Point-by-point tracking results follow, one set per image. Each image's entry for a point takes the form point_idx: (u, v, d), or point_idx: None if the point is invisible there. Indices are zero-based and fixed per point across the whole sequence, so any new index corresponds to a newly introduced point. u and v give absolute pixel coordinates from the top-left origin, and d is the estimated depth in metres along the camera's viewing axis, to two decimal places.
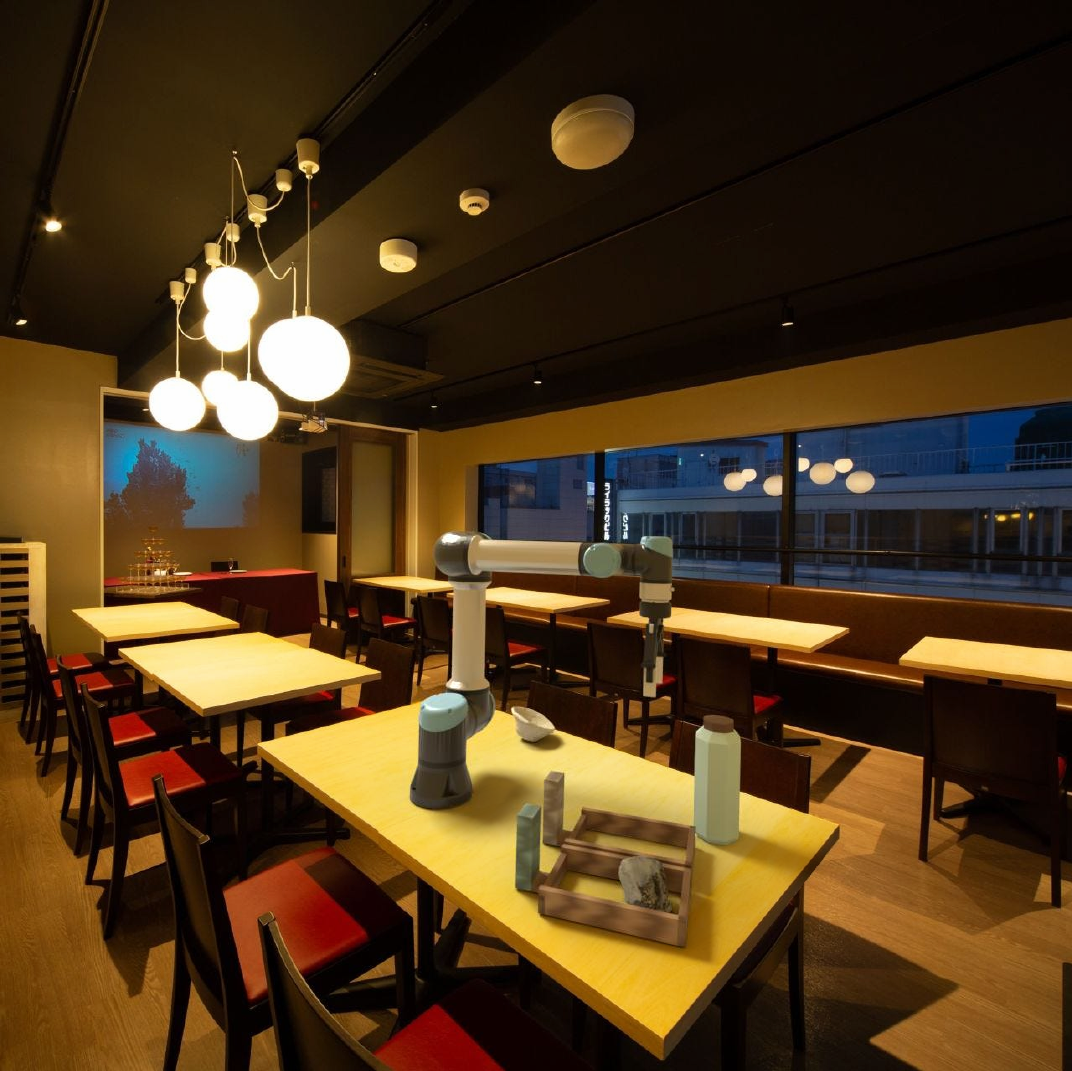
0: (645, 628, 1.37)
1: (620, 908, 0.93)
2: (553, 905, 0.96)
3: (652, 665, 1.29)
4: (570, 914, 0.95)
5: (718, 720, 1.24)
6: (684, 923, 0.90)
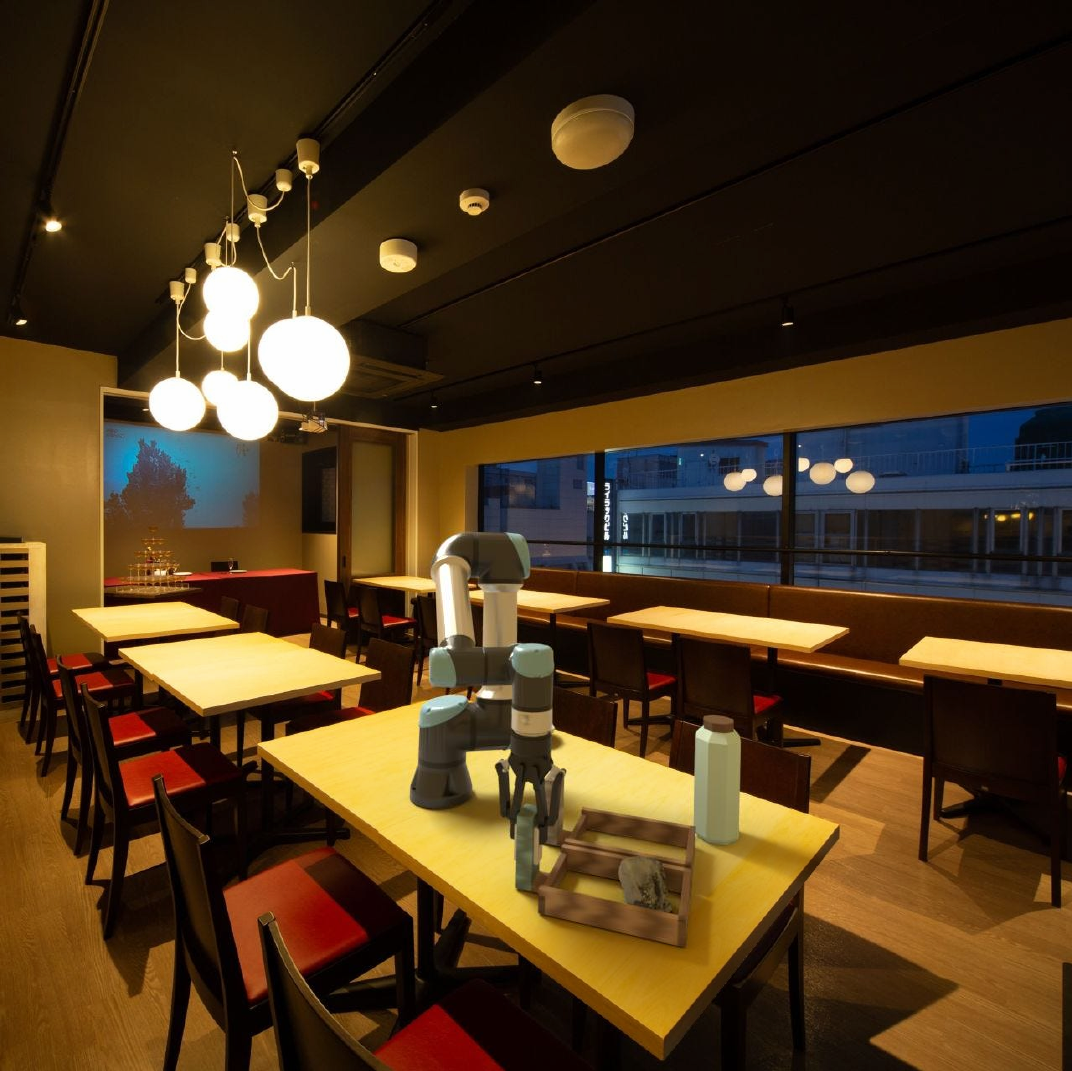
0: None
1: (620, 908, 0.93)
2: (553, 905, 0.96)
3: None
4: (570, 914, 0.95)
5: (718, 720, 1.24)
6: (684, 923, 0.90)
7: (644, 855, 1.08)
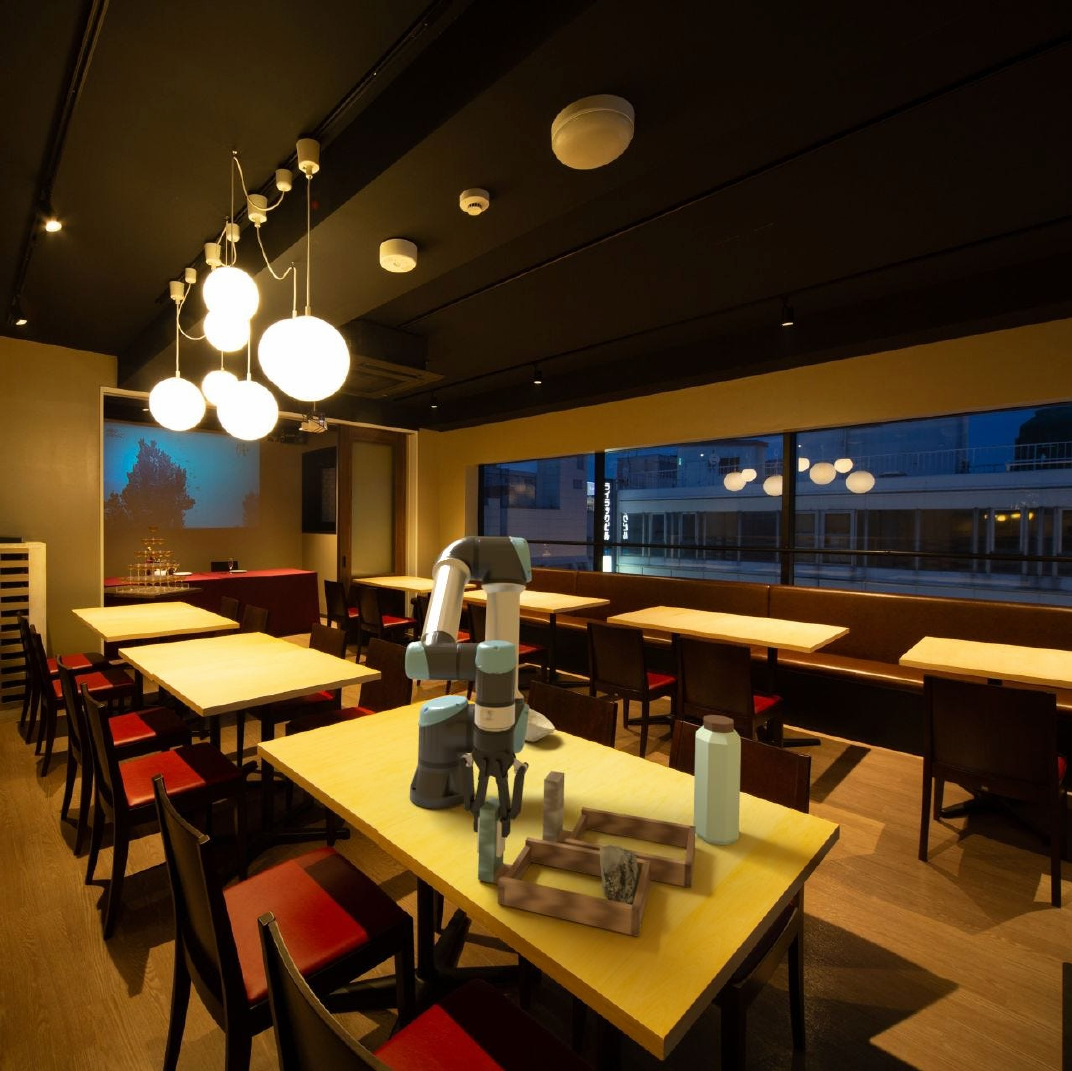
0: None
1: (576, 898, 0.95)
2: (512, 896, 0.98)
3: None
4: (528, 904, 0.97)
5: (718, 720, 1.24)
6: (637, 913, 0.92)
7: (644, 855, 1.08)
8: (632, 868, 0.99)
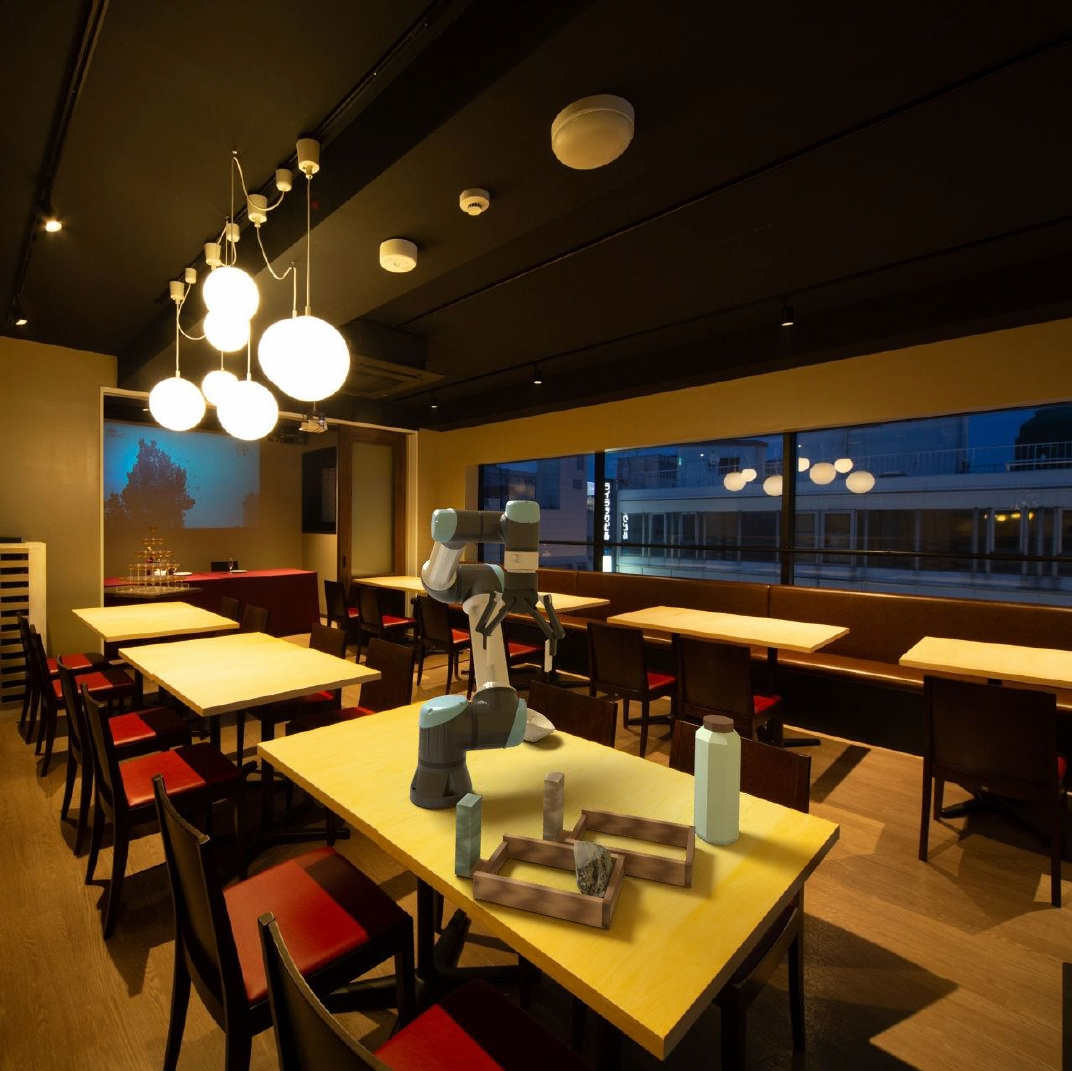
0: None
1: (549, 892, 0.96)
2: (486, 890, 1.00)
3: None
4: (502, 898, 0.99)
5: (718, 720, 1.24)
6: (608, 906, 0.93)
7: (644, 855, 1.08)
8: (605, 863, 1.00)
